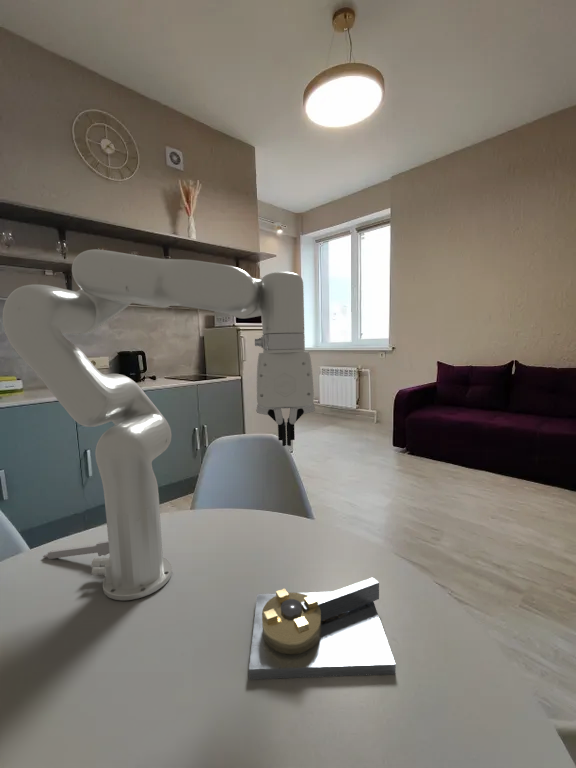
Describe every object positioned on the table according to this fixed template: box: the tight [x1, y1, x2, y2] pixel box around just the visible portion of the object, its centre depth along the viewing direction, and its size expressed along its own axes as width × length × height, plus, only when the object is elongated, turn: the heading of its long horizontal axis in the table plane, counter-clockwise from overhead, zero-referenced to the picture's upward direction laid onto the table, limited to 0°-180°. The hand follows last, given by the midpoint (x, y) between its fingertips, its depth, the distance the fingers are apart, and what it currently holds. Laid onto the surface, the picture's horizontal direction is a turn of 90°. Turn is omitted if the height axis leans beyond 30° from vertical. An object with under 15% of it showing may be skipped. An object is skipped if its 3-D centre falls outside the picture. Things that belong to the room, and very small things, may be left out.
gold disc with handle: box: [262, 576, 380, 654], centre depth 58 cm, size 9×20×4 cm, turn 114°
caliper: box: [42, 540, 109, 560], centre depth 78 cm, size 20×1×6 cm, turn 81°
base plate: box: [248, 591, 397, 680], centre depth 57 cm, size 20×15×2 cm
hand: (286, 443), depth 67 cm, fingers closed
